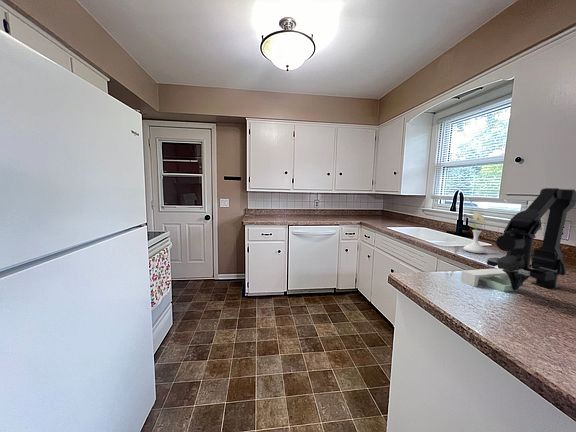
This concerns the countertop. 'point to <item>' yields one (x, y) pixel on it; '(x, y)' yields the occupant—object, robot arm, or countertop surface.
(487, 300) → the countertop surface
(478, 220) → the flower in vase
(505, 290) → the tray
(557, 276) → the robot arm
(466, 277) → the shelf
